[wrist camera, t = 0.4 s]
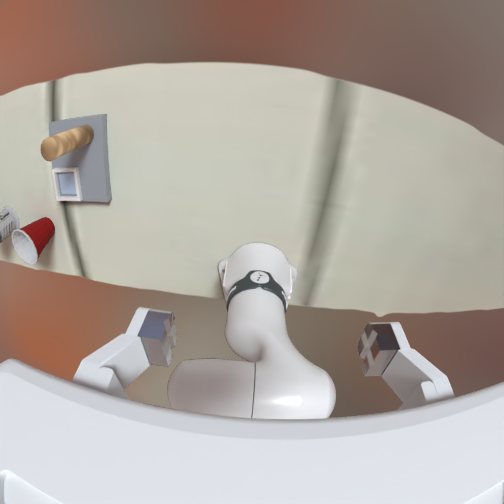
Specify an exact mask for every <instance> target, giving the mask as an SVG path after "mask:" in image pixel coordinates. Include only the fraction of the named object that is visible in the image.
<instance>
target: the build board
mask: <svg viewBox="0 0 504 504" xmlns="http://www.w3.org/2000/svg"><path fill="white" fill-rule="evenodd" d="M83 125H89V126H91V127H92V129H93V131H94V138H93V140H92V142H91V143H89V144H87V145H85V146H82V147H80V148H78V149H76V150H73V151H71V152H69V153H67V154H65V155H63V156H61V157H59V158H56V159H54V160H52V165H53V169H52V175H53V182H54V188H55V194H56V200H57V201H89V202H109V201H110V200H111V199H112V196H111V186H110V176H109V163H108V146H107V114H101V115H92V116H84V117H77V118H71V119H65V120H59V121H54V122H50V123H49V132H50V137H51V136H53V135H56V134H59V133H62V132H64V131H67V130H70V129H73V128H76V127H79V126H83Z"/></svg>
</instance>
